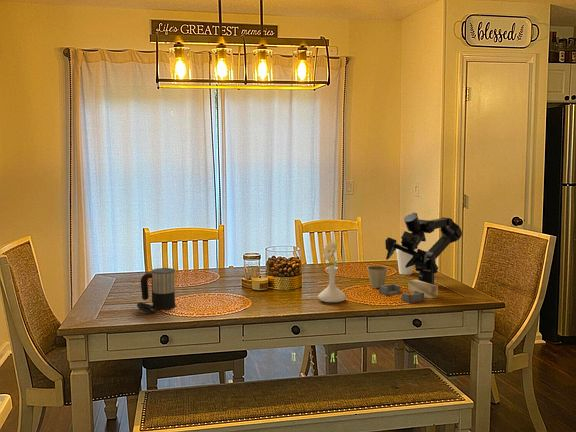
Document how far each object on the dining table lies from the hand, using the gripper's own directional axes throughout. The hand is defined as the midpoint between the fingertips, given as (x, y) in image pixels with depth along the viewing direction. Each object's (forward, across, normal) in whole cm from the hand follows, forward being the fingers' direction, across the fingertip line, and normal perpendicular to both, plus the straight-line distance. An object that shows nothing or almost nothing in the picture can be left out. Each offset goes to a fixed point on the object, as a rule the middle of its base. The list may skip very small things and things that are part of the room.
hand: (396, 263), depth 238 cm
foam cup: (-26, -10, +38) cm, 47 cm away
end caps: (+9, +7, +8) cm, 14 cm away
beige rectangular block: (0, +13, +13) cm, 18 cm away
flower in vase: (+31, -12, 0) cm, 33 cm away
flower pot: (+2, -9, +19) cm, 21 cm away
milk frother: (+78, -61, -15) cm, 100 cm away
